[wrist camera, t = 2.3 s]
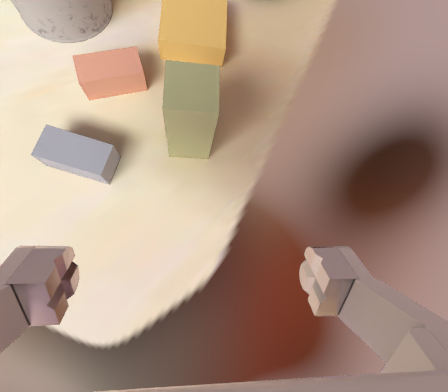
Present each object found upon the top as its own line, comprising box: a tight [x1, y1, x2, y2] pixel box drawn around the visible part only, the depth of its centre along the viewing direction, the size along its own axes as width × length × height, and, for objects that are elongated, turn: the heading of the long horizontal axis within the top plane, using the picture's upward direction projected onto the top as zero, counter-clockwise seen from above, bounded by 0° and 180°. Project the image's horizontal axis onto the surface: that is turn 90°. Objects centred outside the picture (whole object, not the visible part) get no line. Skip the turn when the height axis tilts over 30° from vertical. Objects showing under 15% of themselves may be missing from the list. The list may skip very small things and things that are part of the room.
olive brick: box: [163, 60, 220, 159], centre depth 24 cm, size 4×4×9 cm
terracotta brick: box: [73, 47, 147, 100], centre depth 27 cm, size 6×3×3 cm, turn 107°
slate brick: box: [31, 125, 120, 184], centre depth 25 cm, size 6×3×3 cm, turn 75°
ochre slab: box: [158, 0, 227, 66], centre depth 30 cm, size 7×7×3 cm
